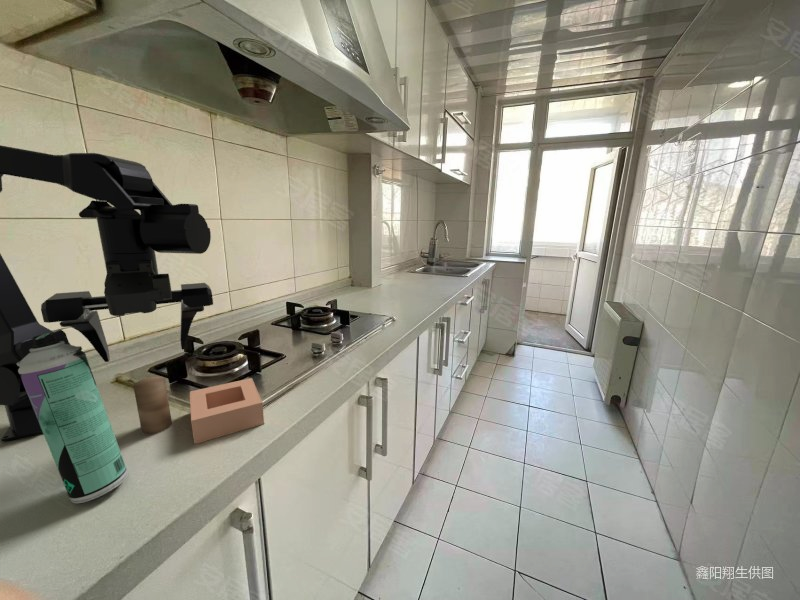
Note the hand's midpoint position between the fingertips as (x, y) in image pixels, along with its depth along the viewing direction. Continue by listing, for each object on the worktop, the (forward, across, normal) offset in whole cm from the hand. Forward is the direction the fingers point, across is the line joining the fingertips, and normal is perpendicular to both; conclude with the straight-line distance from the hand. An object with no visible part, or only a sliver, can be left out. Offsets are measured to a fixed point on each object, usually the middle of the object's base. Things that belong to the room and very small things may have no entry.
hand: (147, 354), depth 50 cm
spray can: (+13, -6, -11) cm, 18 cm away
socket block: (+13, +10, -2) cm, 16 cm away
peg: (+13, 0, +1) cm, 13 cm away
